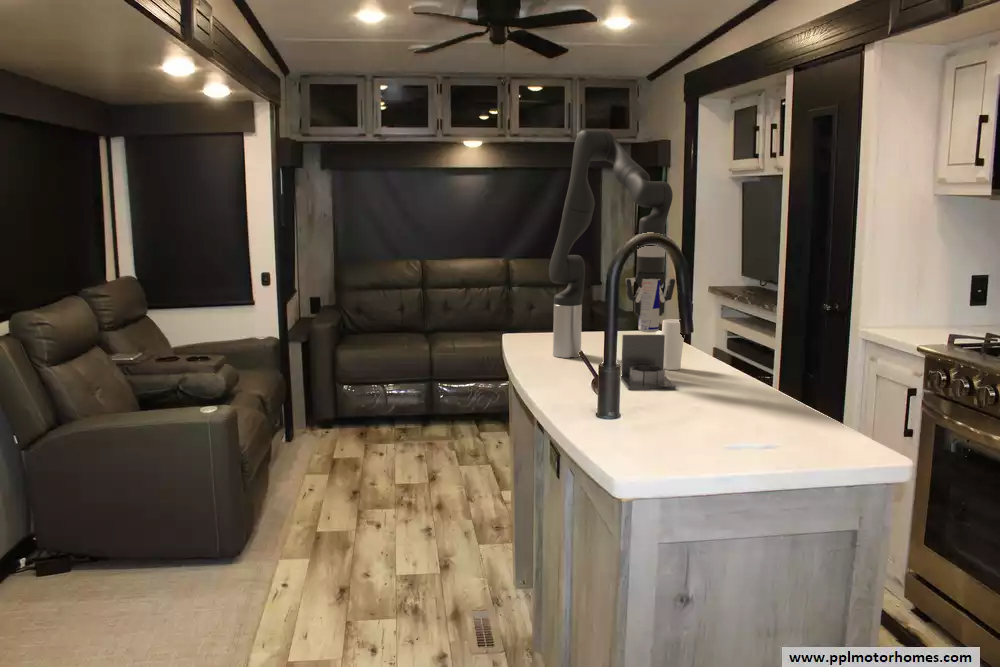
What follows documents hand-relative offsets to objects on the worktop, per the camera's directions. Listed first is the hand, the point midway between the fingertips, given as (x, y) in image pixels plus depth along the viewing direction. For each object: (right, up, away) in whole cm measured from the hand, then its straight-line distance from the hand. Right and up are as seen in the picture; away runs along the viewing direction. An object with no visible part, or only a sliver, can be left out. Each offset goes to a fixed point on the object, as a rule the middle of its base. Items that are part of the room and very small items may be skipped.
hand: (648, 315), depth 229 cm
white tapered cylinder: (+11, -16, +23) cm, 31 cm away
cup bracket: (0, -19, +3) cm, 20 cm away
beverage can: (0, -5, +1) cm, 5 cm away
